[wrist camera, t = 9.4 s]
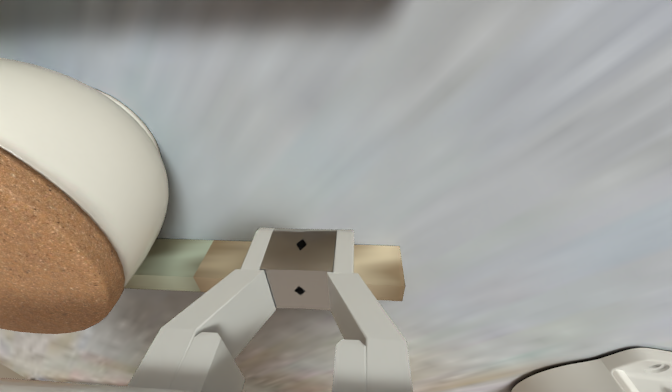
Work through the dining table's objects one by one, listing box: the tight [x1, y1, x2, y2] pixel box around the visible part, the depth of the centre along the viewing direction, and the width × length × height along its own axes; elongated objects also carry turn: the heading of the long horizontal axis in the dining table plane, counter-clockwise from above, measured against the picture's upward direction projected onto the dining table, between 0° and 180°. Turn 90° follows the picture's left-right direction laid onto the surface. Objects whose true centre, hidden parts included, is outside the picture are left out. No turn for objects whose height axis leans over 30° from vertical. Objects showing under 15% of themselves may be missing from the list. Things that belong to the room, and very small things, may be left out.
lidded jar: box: [0, 58, 169, 334], centre depth 12 cm, size 11×11×9 cm
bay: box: [124, 239, 405, 301], centre depth 13 cm, size 24×18×4 cm
